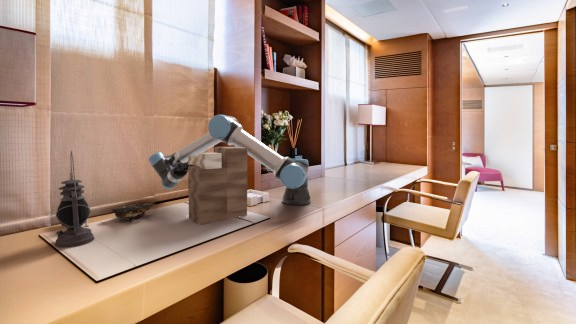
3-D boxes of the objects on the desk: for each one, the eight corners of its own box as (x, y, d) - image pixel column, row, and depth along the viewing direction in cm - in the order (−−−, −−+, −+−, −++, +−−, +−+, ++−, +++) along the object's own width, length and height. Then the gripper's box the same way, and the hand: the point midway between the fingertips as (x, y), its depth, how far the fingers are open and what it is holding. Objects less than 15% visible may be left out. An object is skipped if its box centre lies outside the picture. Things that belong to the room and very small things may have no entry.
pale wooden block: (184, 164, 133) (184, 150, 132) (199, 163, 137) (199, 150, 137) (205, 169, 117) (205, 154, 117) (221, 168, 122) (221, 153, 121)
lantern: (53, 239, 99) (47, 149, 96) (90, 232, 106) (86, 149, 103) (56, 251, 90) (50, 152, 87) (97, 243, 97) (93, 151, 94)
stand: (188, 218, 126) (187, 147, 123) (234, 210, 140) (234, 146, 137) (200, 224, 118) (199, 149, 115) (247, 215, 132) (247, 147, 129)
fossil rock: (136, 224, 116) (136, 210, 115) (106, 222, 119) (106, 207, 118) (159, 215, 129) (158, 202, 129) (131, 213, 132) (131, 200, 132)
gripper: (202, 177, 154) (220, 160, 140) (152, 181, 138) (166, 162, 123) (199, 164, 157) (216, 145, 142) (149, 167, 140) (162, 146, 125)
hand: (193, 153), depth 132 cm, fingers open, 13 cm apart
